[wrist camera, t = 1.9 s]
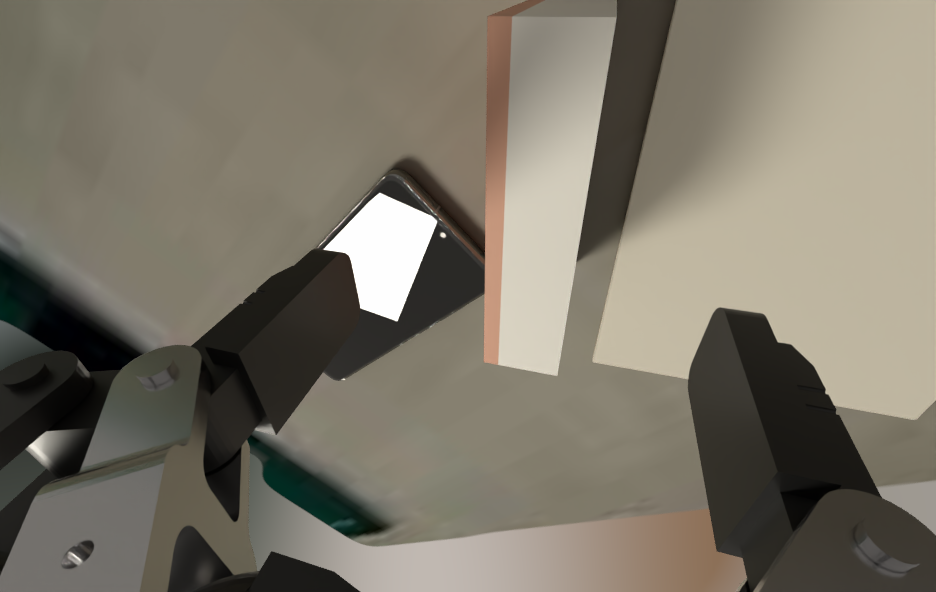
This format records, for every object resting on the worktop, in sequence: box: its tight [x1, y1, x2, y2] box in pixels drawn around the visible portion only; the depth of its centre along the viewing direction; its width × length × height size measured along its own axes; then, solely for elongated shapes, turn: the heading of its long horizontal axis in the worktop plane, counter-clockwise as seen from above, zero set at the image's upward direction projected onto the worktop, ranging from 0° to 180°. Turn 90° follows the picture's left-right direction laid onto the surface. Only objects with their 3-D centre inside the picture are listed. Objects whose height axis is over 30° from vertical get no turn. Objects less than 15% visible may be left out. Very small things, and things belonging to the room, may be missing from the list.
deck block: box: [484, 0, 617, 376], centre depth 14 cm, size 10×2×7 cm, turn 1°
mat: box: [593, 0, 936, 420], centre depth 15 cm, size 17×14×1 cm
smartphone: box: [316, 169, 485, 381], centre depth 24 cm, size 7×1×16 cm
